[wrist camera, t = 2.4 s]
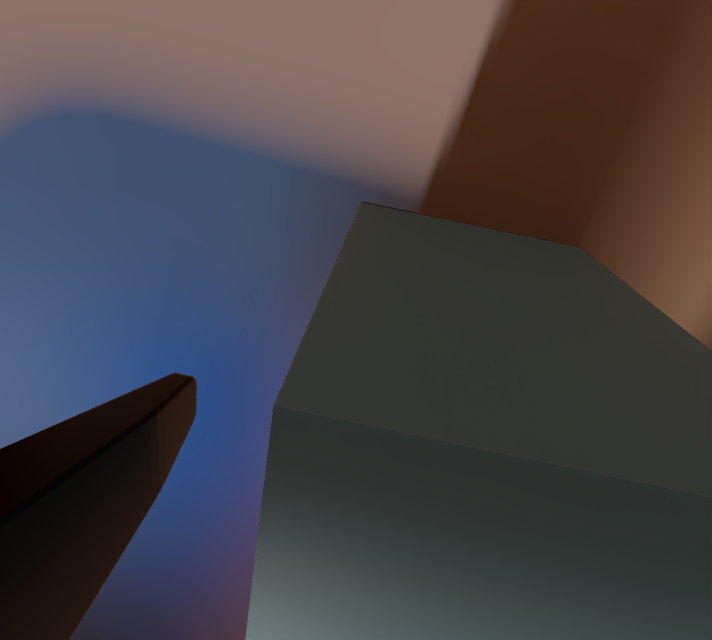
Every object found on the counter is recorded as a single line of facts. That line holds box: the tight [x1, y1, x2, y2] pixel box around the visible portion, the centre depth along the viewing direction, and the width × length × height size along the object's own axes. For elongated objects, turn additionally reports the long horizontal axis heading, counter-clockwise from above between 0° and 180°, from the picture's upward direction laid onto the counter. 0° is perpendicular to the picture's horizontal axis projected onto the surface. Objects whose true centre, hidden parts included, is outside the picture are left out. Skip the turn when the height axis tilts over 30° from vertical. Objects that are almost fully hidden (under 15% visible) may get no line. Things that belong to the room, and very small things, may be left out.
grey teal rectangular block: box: [246, 202, 712, 640], centre depth 7 cm, size 8×4×6 cm, turn 170°
